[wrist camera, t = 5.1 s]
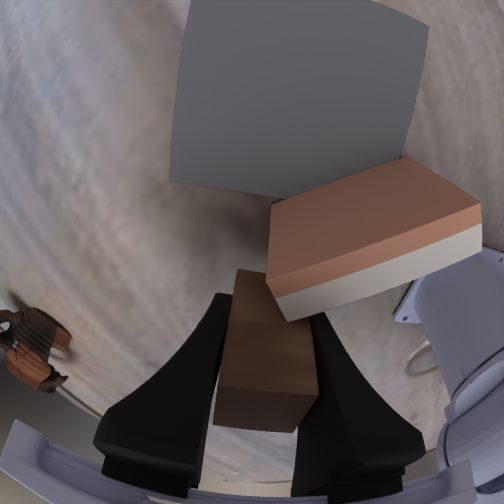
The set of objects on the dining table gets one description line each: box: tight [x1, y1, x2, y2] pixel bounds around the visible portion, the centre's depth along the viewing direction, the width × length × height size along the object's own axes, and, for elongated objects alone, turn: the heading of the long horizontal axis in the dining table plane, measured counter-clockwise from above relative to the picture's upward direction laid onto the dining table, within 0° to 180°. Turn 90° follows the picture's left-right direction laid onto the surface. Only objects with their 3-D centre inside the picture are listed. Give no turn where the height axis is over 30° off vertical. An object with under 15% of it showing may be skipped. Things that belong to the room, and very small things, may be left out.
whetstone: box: [266, 157, 482, 322], centre depth 12 cm, size 8×2×7 cm, turn 115°
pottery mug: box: [0, 308, 71, 394], centre depth 24 cm, size 12×10×8 cm
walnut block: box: [213, 269, 319, 433], centre depth 11 cm, size 3×3×6 cm
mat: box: [169, 0, 429, 200], centre depth 12 cm, size 12×12×1 cm
